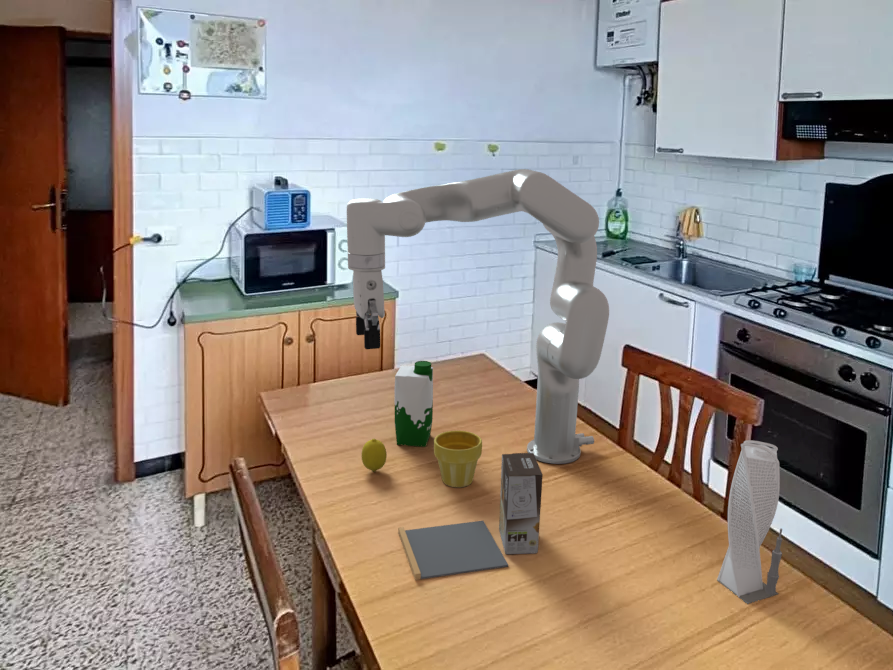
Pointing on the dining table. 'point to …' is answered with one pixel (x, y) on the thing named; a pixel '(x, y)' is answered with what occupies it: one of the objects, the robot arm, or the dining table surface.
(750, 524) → the skyscraper
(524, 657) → the dining table surface
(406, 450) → the dining table surface
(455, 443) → the plant pot
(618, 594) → the dining table surface
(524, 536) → the coffee box
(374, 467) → the lemon
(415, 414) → the milk carton
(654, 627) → the dining table surface
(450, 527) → the mat
